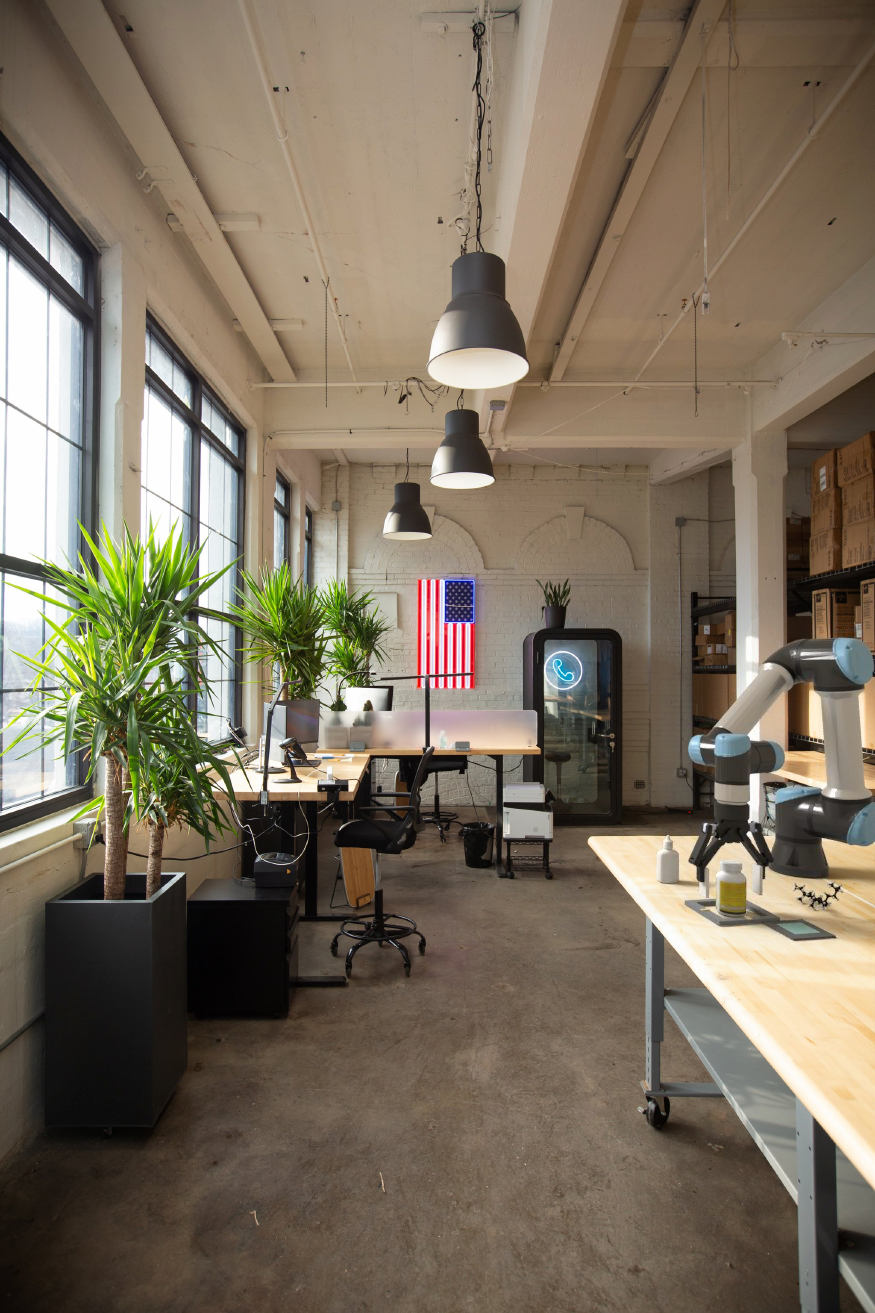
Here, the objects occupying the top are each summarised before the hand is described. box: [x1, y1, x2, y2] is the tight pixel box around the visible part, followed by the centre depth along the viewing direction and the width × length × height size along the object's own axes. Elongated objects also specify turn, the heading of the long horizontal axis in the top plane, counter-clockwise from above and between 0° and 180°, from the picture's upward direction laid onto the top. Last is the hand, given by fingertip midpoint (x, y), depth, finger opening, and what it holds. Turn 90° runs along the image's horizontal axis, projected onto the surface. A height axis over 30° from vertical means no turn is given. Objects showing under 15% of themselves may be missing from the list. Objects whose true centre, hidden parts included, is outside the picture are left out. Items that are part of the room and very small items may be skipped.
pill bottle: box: [715, 859, 747, 918], centre depth 162 cm, size 6×6×12 cm
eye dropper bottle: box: [656, 834, 680, 884], centre depth 185 cm, size 4×6×12 cm
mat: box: [761, 918, 837, 942], centre depth 151 cm, size 10×10×1 cm
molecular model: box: [792, 880, 844, 911], centre depth 166 cm, size 6×15×8 cm, turn 8°
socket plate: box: [684, 898, 782, 927], centre depth 161 cm, size 15×14×1 cm
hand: (730, 895), depth 162 cm, fingers open, 13 cm apart
